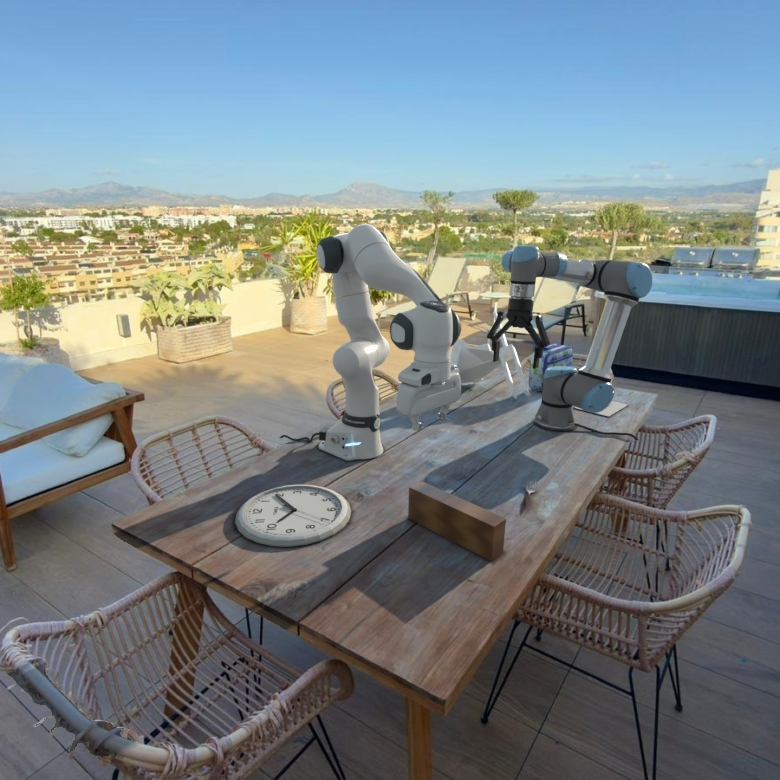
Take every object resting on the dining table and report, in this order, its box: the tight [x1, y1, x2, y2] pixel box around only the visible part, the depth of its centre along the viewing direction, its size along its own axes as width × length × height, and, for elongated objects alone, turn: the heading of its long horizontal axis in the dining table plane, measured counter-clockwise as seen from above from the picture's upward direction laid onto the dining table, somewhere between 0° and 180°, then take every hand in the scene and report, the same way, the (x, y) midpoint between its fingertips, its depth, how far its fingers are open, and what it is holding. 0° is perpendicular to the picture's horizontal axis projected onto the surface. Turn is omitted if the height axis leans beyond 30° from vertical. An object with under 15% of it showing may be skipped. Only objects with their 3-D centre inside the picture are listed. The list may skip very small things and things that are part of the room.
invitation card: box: [573, 400, 629, 418], centre depth 226 cm, size 21×1×15 cm
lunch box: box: [528, 343, 574, 392], centre depth 248 cm, size 26×11×21 cm, turn 134°
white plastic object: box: [450, 310, 531, 400], centre depth 245 cm, size 37×45×31 cm
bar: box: [407, 480, 507, 562], centre depth 129 cm, size 26×5×9 cm, turn 46°
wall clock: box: [234, 484, 352, 548], centre depth 138 cm, size 30×2×30 cm
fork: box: [525, 478, 537, 511], centre depth 148 cm, size 3×16×2 cm, turn 160°
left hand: (429, 424), depth 128 cm, fingers open, 8 cm apart
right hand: (515, 364), depth 167 cm, fingers open, 13 cm apart
